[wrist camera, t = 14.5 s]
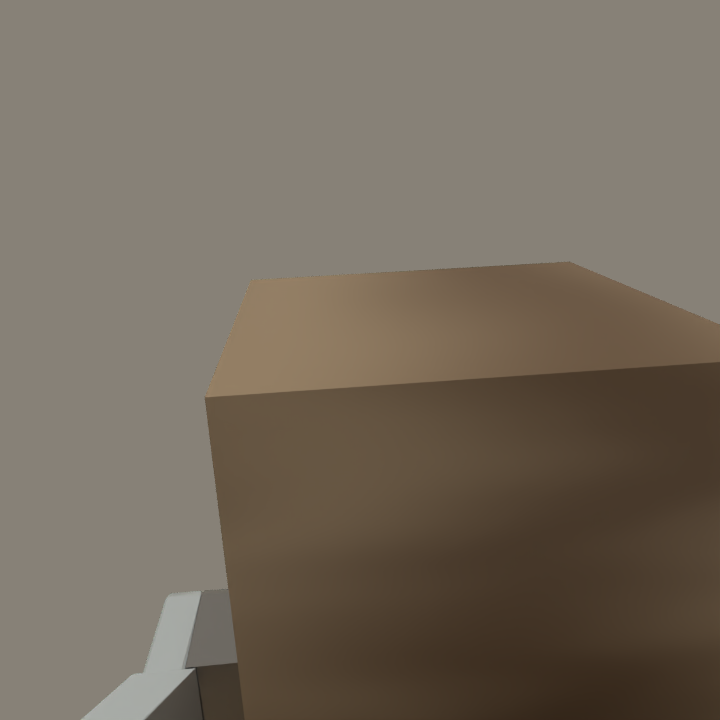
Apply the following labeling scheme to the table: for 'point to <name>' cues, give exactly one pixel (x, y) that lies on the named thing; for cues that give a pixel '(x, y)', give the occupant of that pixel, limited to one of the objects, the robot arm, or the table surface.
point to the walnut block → (470, 497)
